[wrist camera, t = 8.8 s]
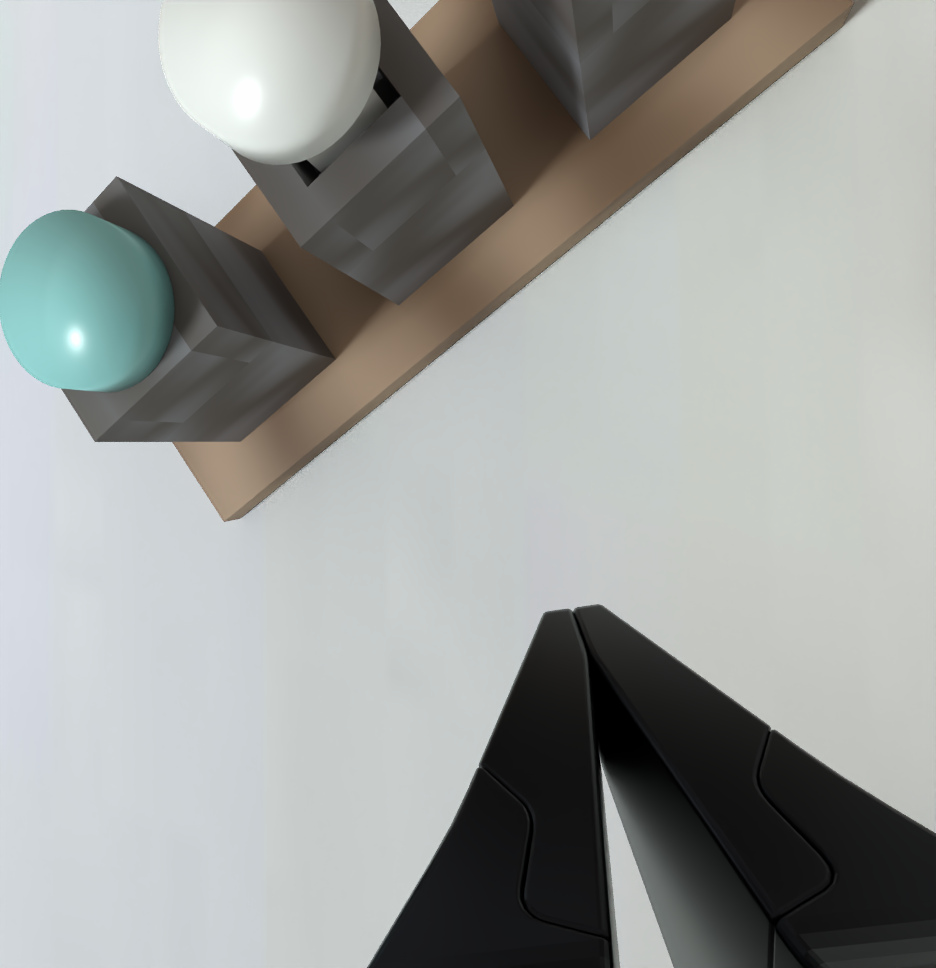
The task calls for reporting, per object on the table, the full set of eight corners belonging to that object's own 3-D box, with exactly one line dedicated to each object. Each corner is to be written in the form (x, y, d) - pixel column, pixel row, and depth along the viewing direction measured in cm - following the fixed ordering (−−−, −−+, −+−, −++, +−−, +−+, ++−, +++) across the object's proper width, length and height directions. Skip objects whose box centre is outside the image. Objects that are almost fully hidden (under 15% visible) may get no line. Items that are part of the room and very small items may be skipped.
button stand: (659, -189, 19) (677, -583, 12) (841, 26, 18) (985, -255, 11) (124, 341, 25) (-78, 301, 18) (240, 518, 24) (75, 550, 17)
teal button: (180, 222, 18) (75, 171, 15) (259, 338, 18) (169, 313, 14) (89, 316, 19) (-28, 289, 16) (161, 426, 19) (56, 423, 16)
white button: (353, -15, 15) (269, -153, 12) (454, 119, 15) (399, 18, 11) (232, 113, 16) (122, 22, 13) (322, 242, 16) (235, 185, 12)
